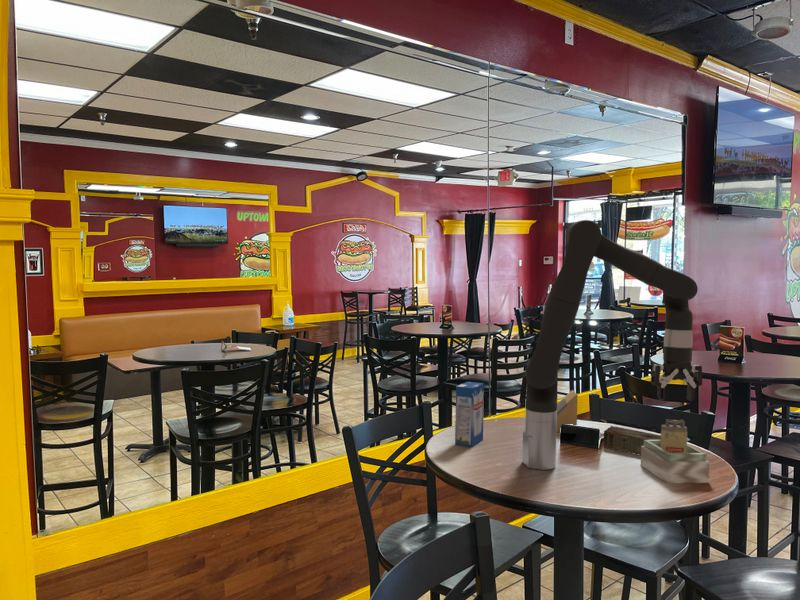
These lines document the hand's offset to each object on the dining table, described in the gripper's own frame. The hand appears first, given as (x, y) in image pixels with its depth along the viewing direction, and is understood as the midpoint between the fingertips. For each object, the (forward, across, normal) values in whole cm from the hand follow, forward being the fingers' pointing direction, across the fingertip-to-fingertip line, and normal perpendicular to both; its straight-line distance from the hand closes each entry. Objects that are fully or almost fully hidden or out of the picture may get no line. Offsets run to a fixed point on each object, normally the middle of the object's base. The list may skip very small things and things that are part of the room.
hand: (675, 400), depth 163 cm
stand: (+22, 0, 0) cm, 22 cm away
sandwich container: (+22, +20, -46) cm, 55 cm away
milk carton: (+22, +54, -33) cm, 67 cm away
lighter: (+16, 0, 0) cm, 16 cm away
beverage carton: (+22, 0, -21) cm, 31 cm away
